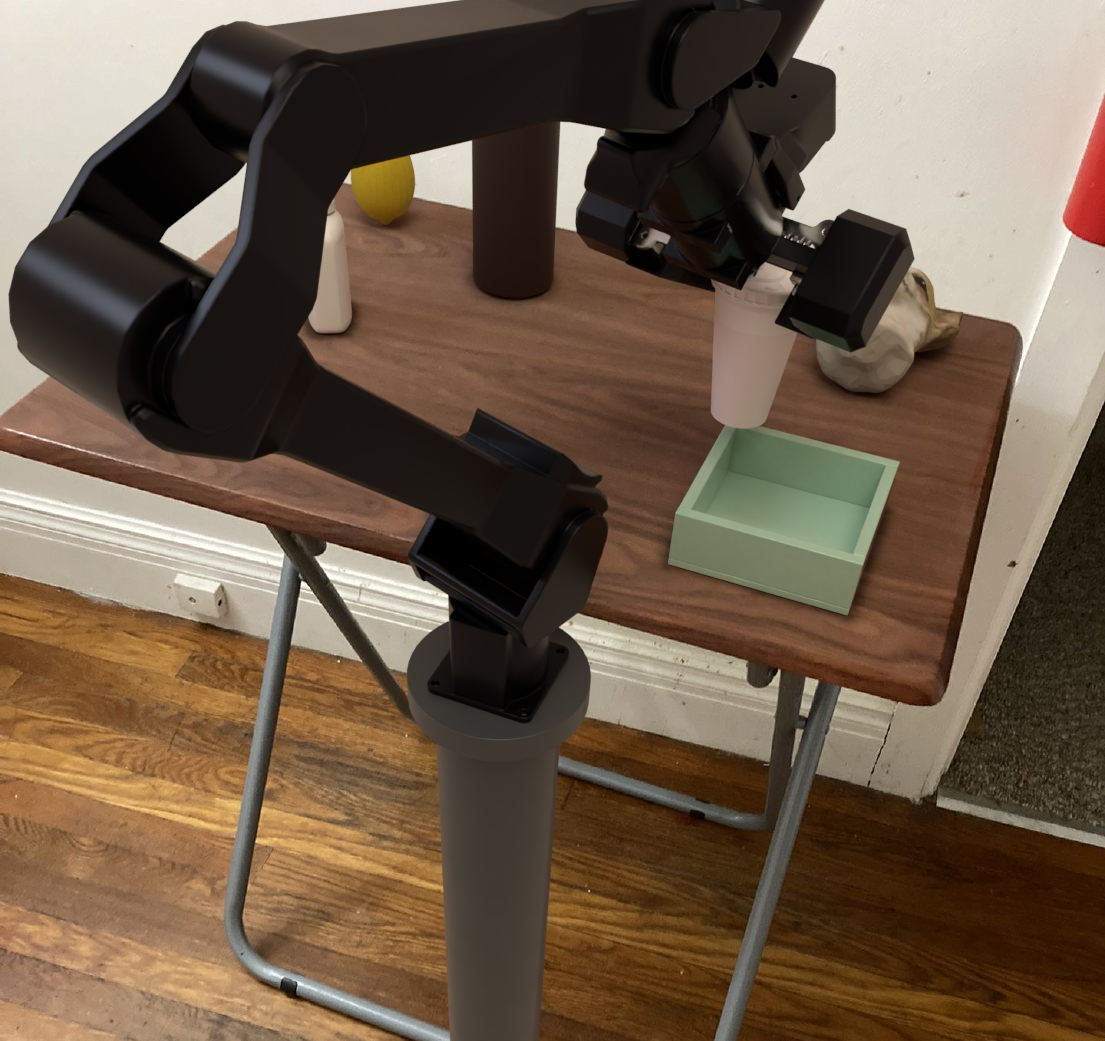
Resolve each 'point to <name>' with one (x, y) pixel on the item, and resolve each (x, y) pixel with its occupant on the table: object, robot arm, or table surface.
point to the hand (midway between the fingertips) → (770, 304)
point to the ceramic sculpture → (893, 339)
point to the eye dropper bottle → (333, 280)
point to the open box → (783, 515)
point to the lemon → (384, 188)
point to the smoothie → (749, 347)
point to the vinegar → (515, 210)
